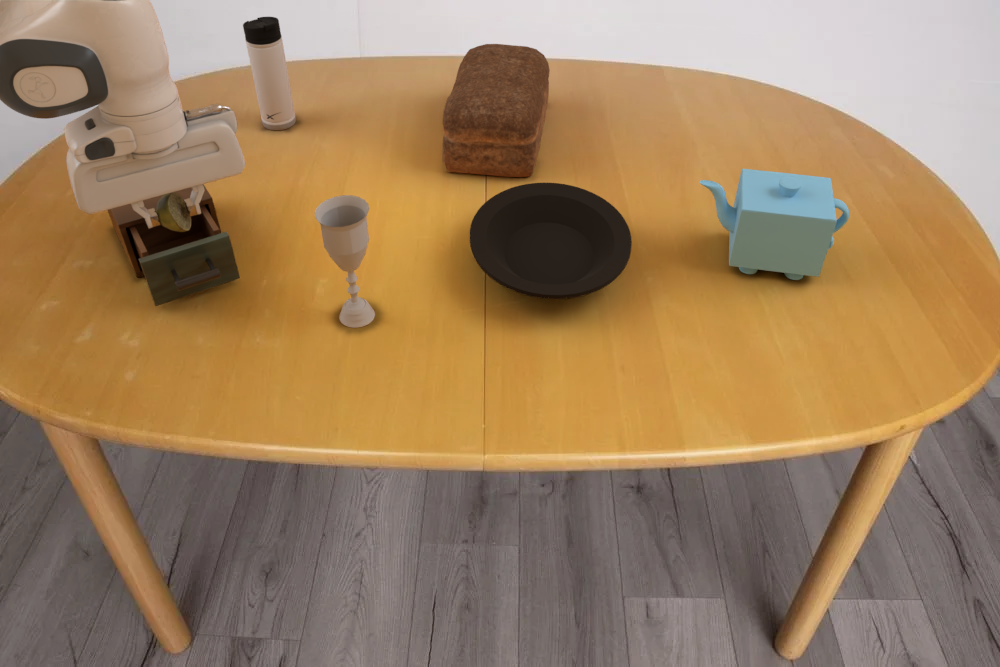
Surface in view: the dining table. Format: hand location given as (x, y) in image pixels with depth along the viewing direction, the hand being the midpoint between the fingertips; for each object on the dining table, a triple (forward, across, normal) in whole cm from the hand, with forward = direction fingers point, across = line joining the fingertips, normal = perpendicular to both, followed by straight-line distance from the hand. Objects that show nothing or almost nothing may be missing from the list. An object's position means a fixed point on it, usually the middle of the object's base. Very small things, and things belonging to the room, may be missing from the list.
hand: (173, 219), depth 111 cm
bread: (+18, -62, -24) cm, 69 cm away
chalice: (+18, -19, +9) cm, 28 cm away
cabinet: (+18, -1, -23) cm, 29 cm away
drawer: (+17, -1, -11) cm, 20 cm away
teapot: (+17, -79, +27) cm, 85 cm away
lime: (+2, 0, 0) cm, 2 cm away
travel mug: (+18, -28, -49) cm, 59 cm away
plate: (+18, -49, +13) cm, 54 cm away
